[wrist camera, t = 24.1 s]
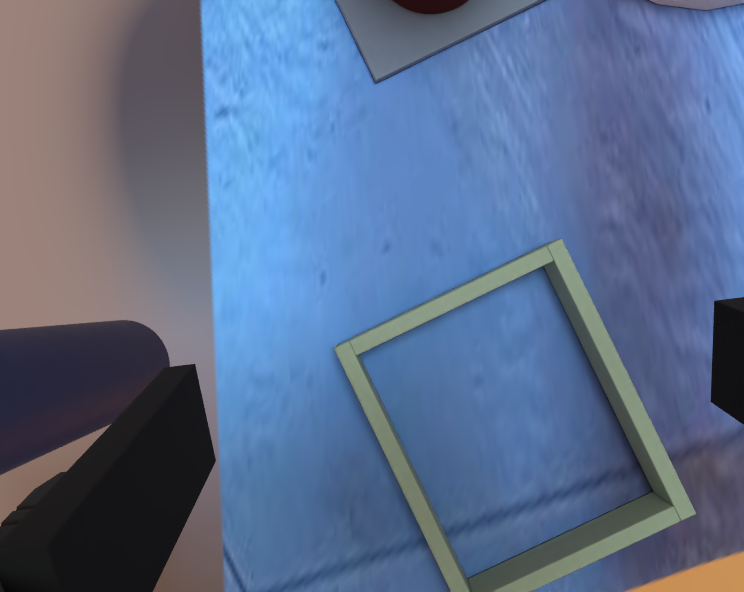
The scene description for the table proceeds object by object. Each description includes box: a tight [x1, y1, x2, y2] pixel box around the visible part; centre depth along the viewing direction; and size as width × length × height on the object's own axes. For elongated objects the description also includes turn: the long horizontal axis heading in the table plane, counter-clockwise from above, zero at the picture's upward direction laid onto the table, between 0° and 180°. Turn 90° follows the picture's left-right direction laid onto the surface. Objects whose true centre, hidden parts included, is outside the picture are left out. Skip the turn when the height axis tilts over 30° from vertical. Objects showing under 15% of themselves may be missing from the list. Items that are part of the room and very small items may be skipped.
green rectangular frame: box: [334, 239, 696, 592], centre depth 33 cm, size 15×18×2 cm
